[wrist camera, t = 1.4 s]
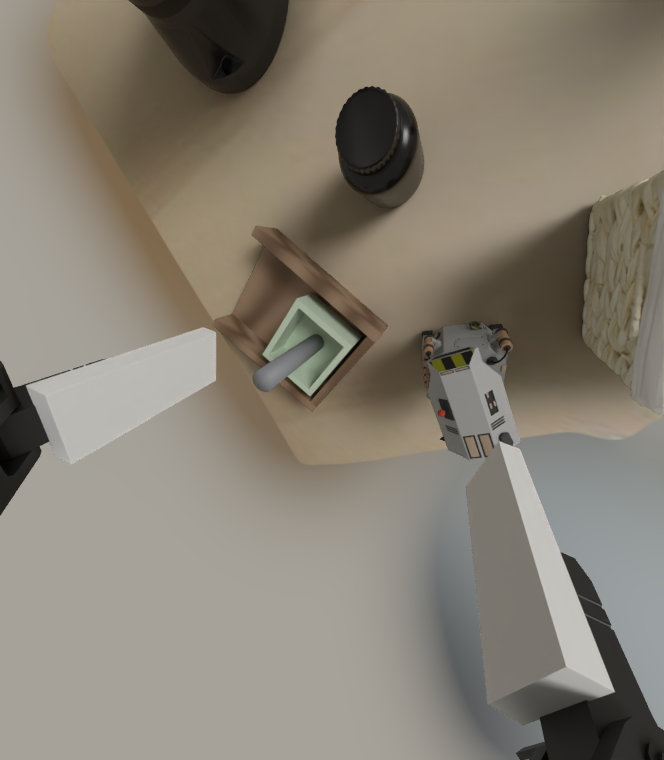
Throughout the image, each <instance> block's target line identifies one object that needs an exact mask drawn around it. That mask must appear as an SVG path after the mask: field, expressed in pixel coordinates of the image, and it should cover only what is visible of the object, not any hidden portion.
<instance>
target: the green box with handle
mask: <svg viewBox="0 0 664 760" xmlns="http://www.w3.org/2000/svg"><path fill="white" fill-rule="evenodd" d="M361 337H362V335H361V334H360V333H359V332H357V331H356V330H355V329H354V328H353V327H352V326H351V325H349V324H348V323H347V322H346V321H345V320H344V319H343V318H341V317H340V316H339V315H338V314H337V313H336V312H334V311H333V310H332V309H331V308H330V307H329V306H328V305H326V304H325V303H324V302H323V301H322V300H321V299H320V298H318V297H317V296H316V295H315V294H314V293H312V294H309V295H306V296H303V297H300V298H297V299H296V301H295V302H294V304H293V305H292V307H291V309H290V310H289V312H288V314H287V315H286V317H285V319H284V320H283V322H282V323H281V325H280V327H279V328H278V330H277V332H276V333H275V335H274V336H273V338H272V340H271V341H270V343H269V345H268V346H267V348H266V349H265V351H264V353H263V354H262V355H263V356H264V357H265V358H267V359H268V360H269V361H270V362H269V363H268V364H266V365H265V366H263V367H262V368H260V369H259V370H257V371H255V372H254V374H253V382H254V384H255V386H256V387H257V388H258V389H259V390H261V391H264V392H268V391H270V390H271V389H272V388H274V387H275V386H276V385H277V384H279V383H280V382H281V381H282V380H284V379H285V378H286V377H288V378H290V379H291V380H292V381H293V382H294V383H295V384H296V385H298V386H299V387H300V388H301V389H302V390H303V391H305V392H306V393H307V394H308V395H309V396H311V395H312V394H313V393H314V392H315V391H316V390H317V388H318V387H319V386H320V385H321V384H322V383H323V382H324V381H325V379H326V378H327V377H328V376H329V375H330V374H331V372H332V371H333V370H334V369H335V368H336V367H337V365H338V364H339V363H340V362H341V361H342V360H343V358H344V357H345V356H346V355H347V354H348V353H349V351H350V350H351V349H352V348H353V347H354V346H355V344H356V343H357V342H358V341H359V340H360V339H361Z"/></svg>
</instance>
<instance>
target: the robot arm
mask: <svg viewBox="0 0 664 760" xmlns="http://www.w3.org/2000/svg"><path fill="white" fill-rule="evenodd" d="M129 1H130V2H131V3H132V4H134V5H135V6H136V7H137V8H139V9H140V10H141V11H142V12H143V13H145V15H146V16H147V18H148V19H149V20H150V22H151V23H152V24H153V26H154V27H155V28H156V30H157V31H158V33H159V34H160V35H161V37H162V38H163V39H164V41H165V42H166V43H167V45H168V46H169V48H170V49H171V50H172V52H173V53H174V54H175V56H176V57H177V59H178V60H179V61H180V62H181V64H182V65H183V66H184V67H185V68H186V69H187V70H188V71H189V72H190V73H191V74H192V75H193V76H195V77H196V78H197V79H199V80H200V81H201V82H203V83H204V84H206V85H207V86H209V87H210V88H212V89H214V90H216V91H218V92H222V93H236V92H240V91H243V90H245V89H247V88H248V87H250V86H251V85H253V84H254V83H255V82H256V81H257V80H258V79H259V78H260V77H261V76H262V75H263V73H264V72H265V71H266V69H267V68H268V66H269V65H270V63H271V61H272V59H273V57H274V55H275V53H276V51H277V48H278V46H279V43H280V40H281V37H282V33H283V30H284V26H285V21H286V16H287V9H288V1H289V0H129ZM214 381H216V332H214V331H211V330H209V329H206V328H204V327H202V328H199V329H196V330H194V331H191V332H187V333H184V334H181V335H178V336H175V337H173V338H169V339H166V340H163V341H160V342H157V343H154V344H151V345H148V346H145V347H142V348H139V349H135V350H133V351H129V352H126V353H123V354H121V355H117V356H114V357H112V358H108V359H102V360H99V361H96V362H93V363H89V364H86V366H80V367H77V368H74V369H73V370H72V371H70V370H68V371H65V372H62V373H59V374H55V375H52V376H49V377H46V378H44V379H41V380H37V381H34V382H31V383H28V384H25V385H22V386H18V387H15V388H13V386H12V384H11V381H10V379H9V377H8V374H7V372H6V370H5V368H4V365H3V364H2V362H1V361H0V515H1V514H2V512H3V511H4V509H5V507H6V506H7V505H8V503H9V502H10V500H11V499H12V497H13V496H14V494H15V493H16V491H17V490H18V488H19V487H20V485H21V484H22V482H23V481H24V479H25V478H26V476H27V475H28V473H29V472H30V470H31V469H32V467H33V466H34V464H35V463H36V461H37V460H38V458H39V457H40V454H41V449H40V446H41V445H43V444H45V443H47V442H49V443H50V445H51V448H52V450H53V452H54V455H55V456H57V457H59V458H61V459H62V460H64V461H66V462H68V463H69V464H73V463H75V462H77V461H78V460H80V459H82V458H84V457H85V456H87V455H89V454H90V453H92V452H94V451H96V450H97V449H99V448H101V447H102V446H104V445H106V444H108V443H109V442H111V441H113V440H114V439H116V438H118V437H120V436H121V435H123V434H124V433H126V432H128V431H130V430H132V429H133V428H135V427H137V426H138V425H140V424H142V423H144V422H145V421H147V420H149V419H150V418H152V417H154V416H156V415H157V414H159V413H161V412H162V411H164V410H166V409H168V408H169V407H171V406H173V405H175V404H176V403H178V402H179V401H181V400H183V399H185V398H186V397H188V396H190V395H192V394H193V393H195V392H197V391H199V390H200V389H202V388H204V387H205V386H207V385H209V384H210V383H212V382H214ZM466 495H467V505H468V515H469V525H470V535H471V544H472V554H473V564H474V573H475V584H476V594H477V603H478V613H479V623H480V633H481V643H482V653H483V662H484V672H485V682H486V692H487V702H488V705H489V706H491V707H493V708H494V709H496V710H498V711H500V712H502V713H503V714H505V715H507V716H508V717H510V718H512V719H513V720H515V721H517V722H519V723H520V724H522V725H525V724H528V723H530V722H534V721H536V720H539V719H540V721H541V726H542V730H543V735H544V740H545V742H542V743H538V744H535V745H532V746H528V747H525V748H522V749H521V750H520V751H518V752H517V753H516V754H517V755H518V757H519V759H520V760H525V759H529V760H664V730H663V729H661V728H659V727H658V726H657V724H656V722H655V720H654V718H653V716H652V714H651V712H650V710H649V708H648V705H647V703H646V701H645V699H644V697H643V694H642V692H641V690H640V688H639V685H638V683H637V681H636V679H635V677H634V674H633V672H632V670H631V668H630V666H629V663H628V661H627V659H626V657H625V655H624V652H623V650H622V648H621V646H620V644H619V641H618V639H617V637H616V635H615V632H614V630H612V629H611V628H610V627H611V623H610V621H609V619H608V617H607V615H606V612H605V610H604V609H602V607H601V606H602V604H601V601H600V599H599V597H598V595H597V592H596V590H595V588H594V586H593V584H592V582H591V580H590V579H589V577H588V576H587V575H586V573H585V572H584V570H583V569H582V568H581V566H580V565H579V564H578V562H577V561H576V560H575V558H573V557H570V556H568V555H566V554H564V553H561V552H560V551H559V548H558V545H557V543H556V540H555V538H554V535H553V533H552V530H551V527H550V525H549V523H548V520H547V517H546V515H545V512H544V510H543V507H542V504H541V502H540V499H539V497H538V494H537V492H536V489H535V487H534V484H533V482H532V479H531V476H530V474H529V471H528V469H527V467H526V464H525V461H524V459H523V456H522V454H521V451H520V449H518V448H516V447H513V446H510V445H508V444H505V443H503V442H500V441H499V442H498V443H497V444H496V446H495V447H494V449H493V450H492V451H491V453H490V454H489V455H488V457H487V458H486V460H485V461H484V463H483V464H482V465H481V467H480V468H479V469H478V471H477V472H476V474H475V475H474V476H473V478H472V479H471V481H470V482H469V483H468V485H467V486H466Z"/></svg>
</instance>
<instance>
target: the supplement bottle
mask: <svg viewBox="0 0 664 760" xmlns="http://www.w3.org/2000/svg"><path fill="white" fill-rule="evenodd" d="M335 138H336V145H337V149H338V155H339V164H340V168H341V171H342V174H343V176H344V178H345V180H346V181H347V183H348V184H349V185H350V186H351V187H352V188H353V189H354V190H355V191H356V192H358V193H359V194H360V195H362V196H363V197H364V198H366V199H367V200H368V201H370V202H371V203H373V204H374V205H376V206H378V207H382V208H393V207H397V206H399V205H401V204H403V203H404V202H406V201H407V200H408V199H409V198H410V197H411V196H412V195H413V194H414V192H415V191H416V190H417V188H418V186H419V184H420V181H421V179H422V175H423V170H424V155H423V149H422V145H421V140H420V135H419V130H418V125H417V121H416V118H415V116H414V113H413V111H412V109H411V108H410V106H409V105H408V104H407V103H406V102H405V101H404V100H403V99H402V98H401V97H399V96H397V95H395V94H391V93H387V92H386V90H381V88H380V87H376V88H375V87H374V86H371V87H365V88H364V89H359V90H358V92H356V93H353V95H352V96H351V97H350V98H348V100H347V102H346V103H345V104H344V105H343V108H342V110H341V112H340V114H339V118H338V120H337V126H336V135H335Z"/></svg>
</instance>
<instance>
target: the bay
mask: <svg viewBox="0 0 664 760" xmlns="http://www.w3.org/2000/svg"><path fill="white" fill-rule="evenodd" d="M252 236H253V237H254V238H255V239H257V240H258V241H259V242H260V243H261V244H262V245H263V246H264V249H263V251H262V253H261V255H260V257H259V259H258V261H257V263H256V265H255V268H254V270H253V272H252V274H251V276H250V278H249V280H248V282H247V284H246V287H245V289H244V291H243V293H242V295H241V297H240V299H239V301H238V303H237V305H236V308H235V310H234V312H233V314H231V315H227V316H224V317H220V318H217V319H215V320H214V322H213V326H214V327H215V328H216V329H217V330H218V331H220V332H221V333H222V334H223V335H224V336H225V337H226V338H228V339H229V340H230V341H231V342H232V343H233V344H234V345H236V346H237V347H238V348H239V349H240V350H241V351H243V352H244V353H245V354H246V355H247V356H248V357H249V358H251V359H252V360H253V361H254V362H255V363H256V364H258V365H259V366H260V367H261V368H262V367H263V366H265V365H266V364H268V363H269V362H270V361H269V360H268V359H267V358H265V357H264V356H263V355H262V354H263V353H264V351H265V349H266V348H267V346H268V345H269V343H270V341H271V340H272V338H273V336H274V335H275V333H276V332H277V330H278V328H279V327H280V325H281V323H282V322H283V320H284V319H285V317H286V315H287V314H288V312H289V310H290V309H291V307H292V305H293V304H294V302H295V301H296V299H297V298H300V297H303V296H306V295H309V294H312V293H314V294H315V295H316V296H317V297H318V298H320V299H321V300H322V301H323V302H324V303H325V304H326V305H328V306H329V307H330V308H331V309H332V310H333V311H334V312H336V313H337V314H338V315H339V316H340V317H341V318H343V319H344V320H345V321H346V322H347V323H348V324H349V325H351V326H352V327H353V328H354V329H355V330H356V331H357V332H359V333H360V334H361V335H362V337H361V339H360V340H359V341H358V342H357V343H356V344H355V346H354V347H353V348H352V349H351V350H350V351H349V353H348V354H347V355H346V356H345V357H344V358H343V360H342V361H341V362H340V363H339V364H338V365H337V367H336V368H335V369H334V370H333V371H332V372H331V374H330V375H329V376H328V377H327V378H326V379H325V381H324V382H323V383H322V384H321V385H320V386H319V387H318V388H317V390H316V391H315V392H314V393H313V394H312V395H311V396H309V395H308V394H307V393H306V392H305V391H303V390H302V389H301V388H300V387H299V386H298V385H296V384H295V383H294V382H293V381H292V380H291V379H290V378H288V377H286V378H285V379H284V380H282V381H281V382H280V383H279V384H281V385H282V386H283V387H284V388H285V389H286V390H287V391H289V392H290V393H291V394H292V395H293V396H294V397H295V398H297V399H298V400H299V401H300V402H301V403H302V404H304V405H305V406H306V407H307V408H308V409H309V410H310V411H313V410H314V409H315V408H316V407H317V406H318V405H319V404H320V402H321V401H322V400H323V399H324V398H325V397H326V396H327V395H328V394H329V393H330V391H331V390H332V389H333V388H334V387H335V386H336V385H337V384H338V383H339V381H340V380H341V379H342V378H343V377H344V376H345V375H346V374H347V373H348V372H349V370H350V369H351V368H352V367H353V366H354V365H355V364H356V363H357V362H358V360H359V359H360V358H361V357H362V356H363V355H364V354H365V353H366V352H367V351H368V349H369V348H370V347H371V346H372V345H373V344H374V343H375V342H376V341H377V339H378V338H379V337H380V336H381V335H382V334H383V332H384V331H385V329H386V328H387V327H388V325H387V324H385V323H384V322H383V321H382V320H381V319H380V318H379V317H377V316H376V315H375V314H374V313H373V312H372V311H371V310H369V309H368V308H367V307H366V306H365V305H364V304H363V303H361V302H360V301H359V300H358V299H357V298H356V297H355V296H353V295H352V294H351V293H350V292H349V291H348V290H347V289H345V288H344V287H343V286H342V285H341V284H340V283H339V282H337V281H336V280H335V279H334V278H333V277H332V276H331V275H329V274H328V273H327V272H326V271H325V270H324V269H323V268H321V267H320V266H319V265H318V264H317V263H316V262H315V261H313V260H312V259H311V258H310V257H309V256H308V255H306V254H305V253H304V252H303V251H302V250H301V249H300V248H298V247H297V246H296V245H295V244H294V243H293V242H292V241H290V240H289V239H288V238H287V237H286V236H285V235H284V234H282V233H281V232H280V231H279V230H278V229H275V228H268V227H261V226H255V228H254V230H253V233H252Z"/></svg>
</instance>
